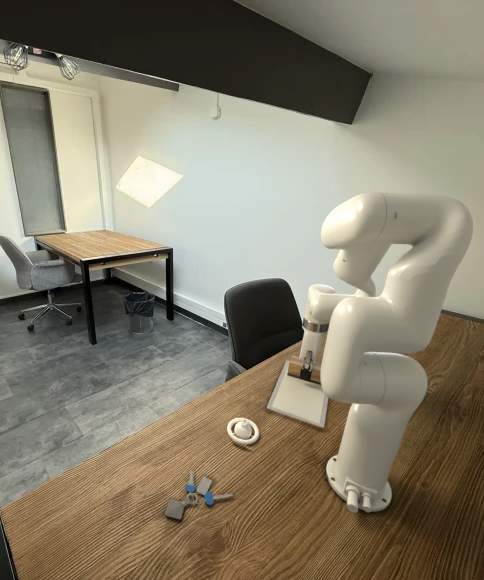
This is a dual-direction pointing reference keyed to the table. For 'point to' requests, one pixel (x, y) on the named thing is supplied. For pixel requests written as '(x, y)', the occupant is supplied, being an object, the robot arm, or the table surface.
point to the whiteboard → (299, 399)
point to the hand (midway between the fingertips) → (306, 372)
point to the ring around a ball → (243, 431)
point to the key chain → (177, 507)
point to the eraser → (296, 366)
